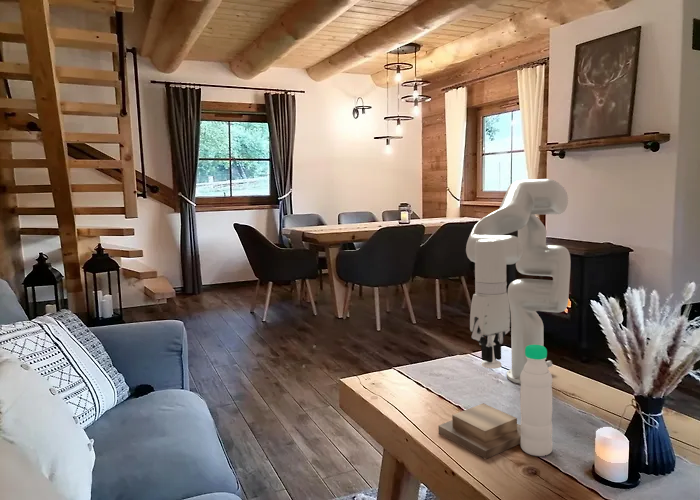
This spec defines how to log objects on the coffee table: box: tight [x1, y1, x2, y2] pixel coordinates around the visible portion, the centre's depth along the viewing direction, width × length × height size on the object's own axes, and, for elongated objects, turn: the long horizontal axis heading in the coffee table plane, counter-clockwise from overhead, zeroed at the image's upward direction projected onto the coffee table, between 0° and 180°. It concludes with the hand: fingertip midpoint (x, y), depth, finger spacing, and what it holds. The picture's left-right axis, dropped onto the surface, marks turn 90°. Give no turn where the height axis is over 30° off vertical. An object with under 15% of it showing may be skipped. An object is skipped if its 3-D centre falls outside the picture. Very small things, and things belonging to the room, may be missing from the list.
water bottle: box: [519, 345, 553, 457], centre depth 123 cm, size 7×7×25 cm
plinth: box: [437, 403, 521, 460], centre depth 132 cm, size 16×16×5 cm
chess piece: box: [481, 334, 502, 370], centre depth 134 cm, size 5×5×10 cm
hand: (491, 359), depth 135 cm, fingers closed on chess piece
